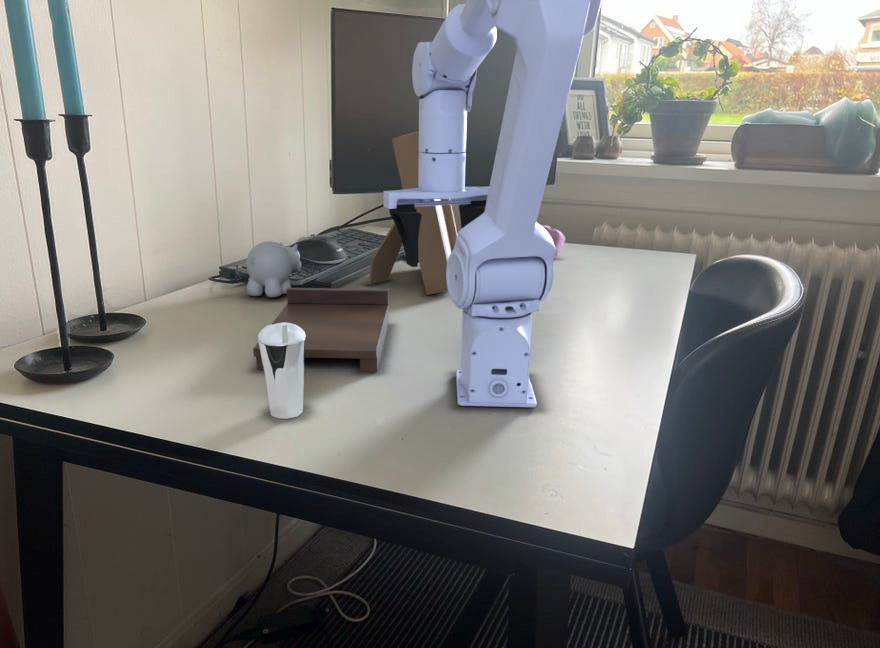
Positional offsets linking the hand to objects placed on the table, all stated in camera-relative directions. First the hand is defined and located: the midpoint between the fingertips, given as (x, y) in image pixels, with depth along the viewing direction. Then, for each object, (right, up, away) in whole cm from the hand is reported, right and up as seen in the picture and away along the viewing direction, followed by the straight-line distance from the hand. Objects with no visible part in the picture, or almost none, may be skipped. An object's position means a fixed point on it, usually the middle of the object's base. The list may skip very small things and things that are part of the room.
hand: (440, 263), depth 90 cm
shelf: (-14, -11, 0) cm, 18 cm away
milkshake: (-16, -18, -20) cm, 31 cm away
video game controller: (+23, +9, +53) cm, 59 cm away
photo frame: (-2, +2, +34) cm, 34 cm away
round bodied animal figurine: (-25, -1, +26) cm, 36 cm away
